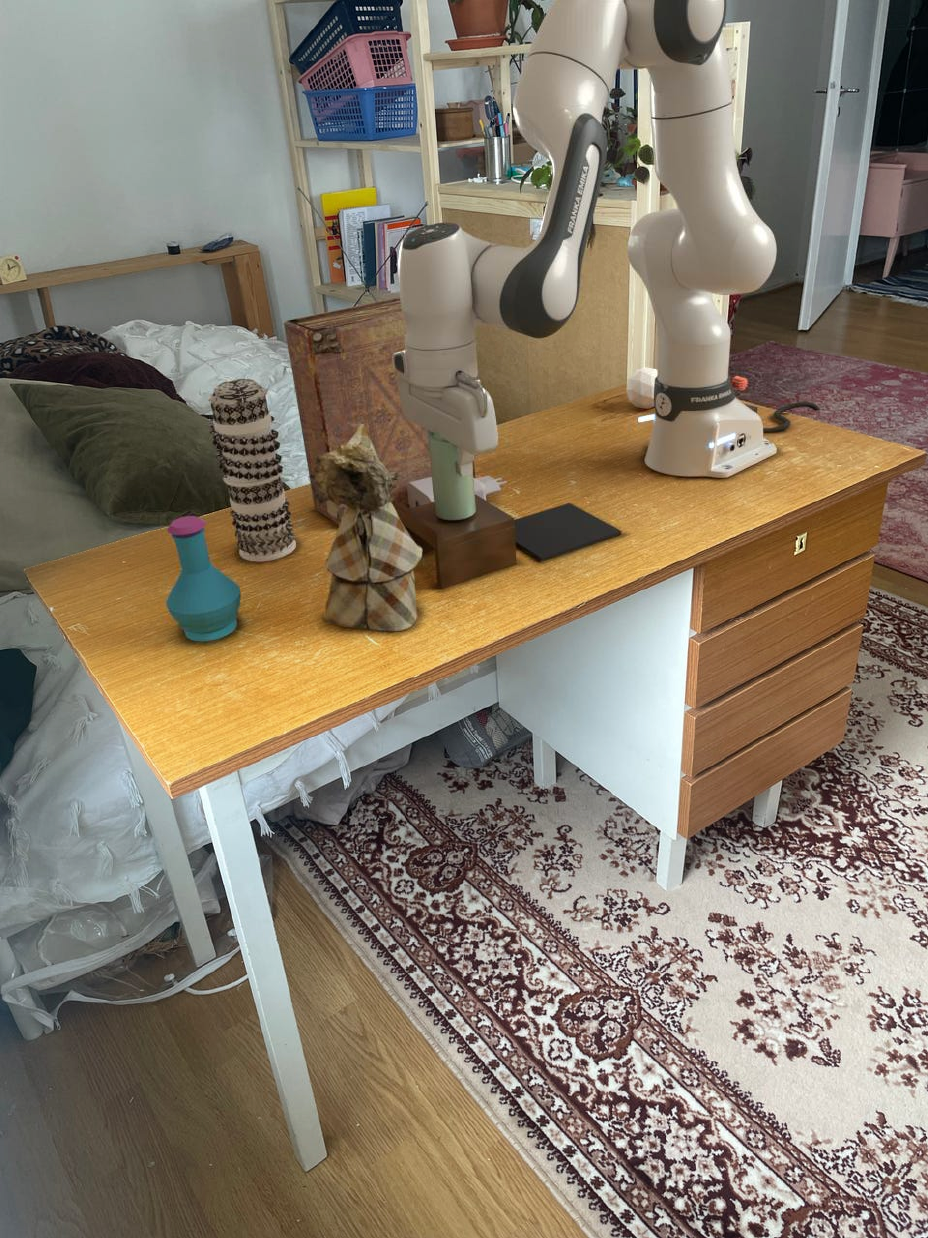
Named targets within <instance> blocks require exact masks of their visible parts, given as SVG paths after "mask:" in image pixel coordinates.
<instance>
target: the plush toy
mask: <svg viewBox="0 0 928 1238" xmlns="http://www.w3.org/2000/svg"><path fill="white" fill-rule="evenodd" d="M316 464H317V465H318V467H315V469H314V472H313V475H310V476H309V475H308V477H309V478H310V477H311V478H314V484H312V488H311V492H312V491H313V494H312V497H313V496H314V498H317V499H318V502H319V504H323V503H324V502H326V501H328V500H331V501H332V502H334V504H335V505H336V506H339V505H341V504H344V505H346V509H345V512H344V515H343V518H342V521H341V523H340V526H339V525H338V526H339V527H338V528H337V531H336V534H335V536H334V539H333V541H332V545H331V547H330V548H331V549H330V551H329V555H328V557H326V560H325V562H324V565H325V567H326V568H325V569H326V570H327V572H329V573H331V576H330V583H329V589H328V594H327V599H326V602H325V611H324V612H323V614H322V621H325V622H329V623H331V624H333V625H335V626H341V627H345V628H351V629H352V628H353V629H364V630H365V629H367V630H369V631H373V630H374V631H382V632H400V631H401V632H402V631H404V630H407V629H410V628H411V627H412V626H414V625H415V623H416V620H417V618H418V615H419V614H418V611H417V598H416V596H417V595H416V594H417V593H416V592H417V591H416V587H415V584H416V581H415V579H416V578H415V570H414V569H415V567H416V566H417V565H418V564H419V562H420V561H421V560H422V558H423V554H422V551H423V549H422V548H421V547H420V546H419V545H417V544H416V543H415V542H414V540H413V539H412V537H411V536H410V534H409V533H408V532H407V530H406V528H405V526H404V525H403V524H402V522H401V520H400V518H399V516H398V514H397V512H396V510H395V508H394V506H393V504H392V503H391V502H392V499H393V495H392V494H390V492H391V491H392V489H394V488H396V487H397V486H396V485H395V483H394V480H398V479H397V477H398V476H399V474H398V473H393V472H388V470H387V469H386V468H385V466H384V464H383V463H381V462H380V461H379V458H378V457H377V454H376V451H375V448H374V446H373V444H372V442H371V439H370V437H369V434H368V432H367V429H366V427H365V425H364V424H362V425H358V429H357V431H356V433H355V434H354V436H353V437H352V438H351V439H350V440H349V442H348V443H347V444H346V445H340V444H337V449H336V450H335V451H333V452H329V453H324V455H323V456H317V458H316ZM317 481H318V482H317ZM338 503H340V504H338Z"/></svg>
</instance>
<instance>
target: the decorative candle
mask: <svg viewBox="0 0 928 1238" xmlns="http://www.w3.org/2000/svg"><path fill="white" fill-rule="evenodd" d="M267 394H268V389H267V388H265V387H263V386H261V385H260V384H259V383H258V382H257V381H255V380H254V379H251V378H236V379H229V380H226V381H222V382H220V383H219V384H217V385H215V388H214V390H213V392H212V393H211V394H210V395H209V396H208V398H207V401H208V402H209V403H210V408H211V412H212V417H213V419H212V425H210V427H209V428H210V430H209V434H210V435H211V436H212V441H211V442H212V445H213V446H214V447H215V449H217V450H216V455H215V457H216V459H218V460H219V464H218V468H219V469H220V470H221V473H222V475H223V477H222V480H223V482H224V483H225V484H226V485H227V487H228V492H229V493H228V494H229V504H230V506H231V508H230V512H229V514H230V516H232V525H233V526H234V528H235V530H234V533H233V534H234V537H235V538H236V540H237V541H236V546H237V548H239V552H238V553H239V556H240V557H241V558H242V559H243V560H246V561H248V562H249V561H250V562H261V563H263V562H269V561H275V560H278V559H282V558H284V557H286V556H288V555H289V554H291V553H292V552H293V551H294V550H295V549H296V546H297V544H296V543H297V542H296V540H295V535H296V533H295V532H293V530H294V528H293V526H294V523H293V522H292V520H291V513H292V512H291V511H290V510H289V509H290V507H289V506H290V502H289V501H288V500H287V498H286V497H287V496H286V493H285V489H284V488H283V486H282V485H283V483H282V482H283V481H282V478H281V476H282V475H283V471H284V470H283V469H284V466H283V465H280V463H281V462H282V459H283V457H282V455H280V454H278V453H277V450H279V449H280V447H281V443H280V441H278V440H276V439H278V437H279V433H280V432H279V431H277V430H275V429H274V428H271V425H272V423H273V422H274V421H275V417H274V416H272V415H271V411H270V410H269V408H268V401H267V398H266V395H267Z"/></svg>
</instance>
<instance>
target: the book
mask: <svg viewBox="0 0 928 1238" xmlns="http://www.w3.org/2000/svg"><path fill="white" fill-rule="evenodd" d="M283 326H284V327H283V328H284V332H285V338H286V344H287V350H288V355H289V362H290V367H291V374H292V381H293V386H294V392H295V398H296V403H297V410H298V416H299V421H300V428H301V433H302V439H303V446H304V451H305V458H306V463H307V470H308V477H309V476H310V475H313V472H314V469H315V467H318V465H317V464H316V458H317V456H323V455H324V453H329V452H333V451H335V450H336V449H337V444H340V445H346V444H347V443H348V442H349V440H350V439H351V438H352V437H353V436H354V434H355V433H356V431H357V429H358V425H362V424H364V425H365V427H366V429H367V432H368V434H369V437H370V439H371V442H372V444H373V446H374V448H375V451H376V454H377V457H378V458H379V461H380V462H381V463H383V464H384V466H385V468H386V469H387V470H388V472H393V473H398V474H399V476H398V477H397V479H398V480H394V483H395V485H396V486H397V487H396V488H394V489H392V491H391V492H390V494H392V495H393V499H392V502H391V503H392V504H393V506H394V508H395V510H396V504H395V503H398V502H401V503H403V504H404V505H406V506H407V507H410V506H409V503H408V494H407V483H409V482H413V481H416V480H420V479H424V478H428V477H432V475H431V465H430V455H429V445H428V442H427V439H426V437H425V434H424V428H423V427H421V426H419V425H418V424H416V423H414V422H412V421H410V420H408V419H407V418H406V417H405V415H404V413H403V410H402V407H401V403H400V397H399V391H398V383H397V373H398V371H396V370H395V369H394V367H393V362H392V355H393V354H394V353H397V352H401V351H404V350H406V346H405V336H406V320H405V317H404V314H403V312H402V309H401V301H400V296H397V297H393V298H389V299H384V300H379V301H374V302H369V303H365V304H360V305H355V306H351V307H346V308H341V309H337V310H336V309H335V310H331V311H326V312H321V313H317V314H312V315H307V316H303V317H299V318H293V319H288V320H285V321H284V322H283ZM472 465H473V477H474V478H475V479H476V468H475V467H476V466H475V459H474V460H473V462H472ZM309 482H310V488H311V489H312V484H314V478H311V477H309ZM317 482H318V481H317ZM311 494H312V500H313V506H314V509H315V510H316V511H317V512H319V513H320V514H321V515H323V516H324V517H326V518H328V519H329V520H330V521H331V522H333V523H334V524H336V525H337V526H340V523H341V521H342V518H343V515H344V512H345V509H346V505H344V504H341V505H339V506H336V505H335V504H334V502H332V501H331V500H328V501H326V502H324V503H323V504H319V502H318V499H317V498H314V496H313V491H312V490H311ZM338 504H340V503H338Z"/></svg>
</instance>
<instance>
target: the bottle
mask: <svg viewBox="0 0 928 1238" xmlns="http://www.w3.org/2000/svg"><path fill="white" fill-rule="evenodd" d="M428 445H429V455H430V465H431V475H432V485H433V494H434V504H435V514H436V516H437V517H439V518H441V519H444V520H461V519H465V518H468V517H470V516H472V515H473V514H474V513H475V512H476V503H475V490H474V477H473V473H472V475H470V476H466V477H462V476H461V475H459V474H457V473H456V467H455V462H457V461H458V460H459V454H460V453H458V452H457V446H455V445H454V444H452V443H450V442H448V441H446V440H445V439H443V438H441V436H440V434H439V431H437V430H436V429H434V428H433V433H431V434H429V435H428Z"/></svg>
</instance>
